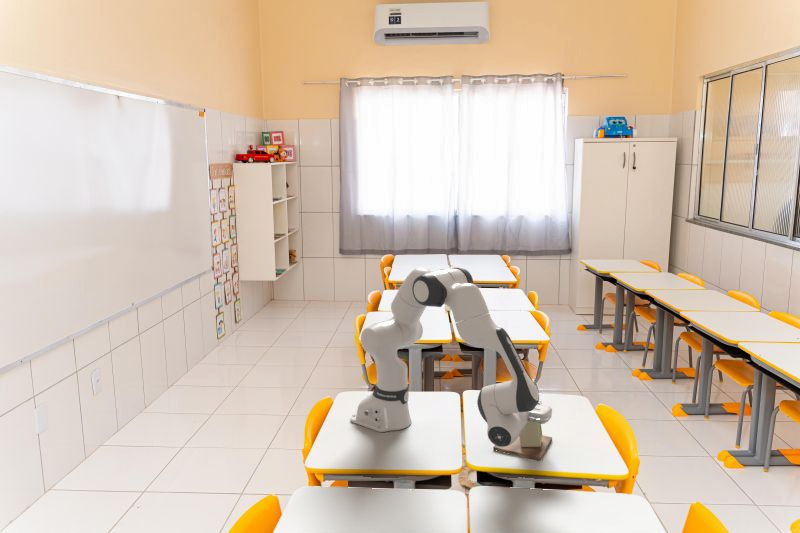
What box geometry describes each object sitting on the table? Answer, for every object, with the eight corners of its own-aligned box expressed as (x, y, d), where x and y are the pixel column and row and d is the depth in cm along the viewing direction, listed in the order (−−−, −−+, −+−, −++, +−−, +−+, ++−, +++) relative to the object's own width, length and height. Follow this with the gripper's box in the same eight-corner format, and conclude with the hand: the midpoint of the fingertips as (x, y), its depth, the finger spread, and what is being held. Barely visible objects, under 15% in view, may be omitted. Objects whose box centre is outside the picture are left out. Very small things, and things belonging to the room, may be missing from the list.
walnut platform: (493, 450, 212) (493, 447, 211) (507, 430, 226) (507, 427, 226) (540, 461, 205) (540, 457, 205) (551, 440, 219) (552, 437, 219)
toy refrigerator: (542, 447, 209) (534, 386, 206) (520, 447, 211) (511, 387, 208) (545, 436, 216) (536, 378, 213) (523, 437, 219) (515, 379, 216)
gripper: (547, 413, 195) (557, 397, 207) (484, 401, 204) (497, 386, 216) (546, 432, 196) (556, 415, 209) (483, 419, 205) (496, 404, 217)
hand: (525, 400), depth 212 cm, fingers open, 8 cm apart
